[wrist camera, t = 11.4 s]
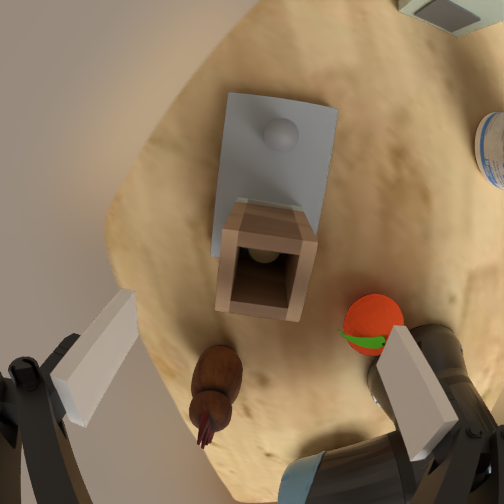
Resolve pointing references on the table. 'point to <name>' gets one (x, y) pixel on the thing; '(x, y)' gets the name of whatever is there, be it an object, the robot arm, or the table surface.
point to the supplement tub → (491, 148)
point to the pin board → (273, 158)
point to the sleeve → (265, 274)
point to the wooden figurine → (214, 391)
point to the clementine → (371, 323)
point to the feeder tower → (455, 13)
